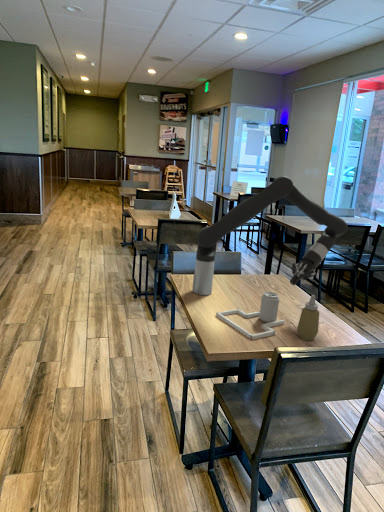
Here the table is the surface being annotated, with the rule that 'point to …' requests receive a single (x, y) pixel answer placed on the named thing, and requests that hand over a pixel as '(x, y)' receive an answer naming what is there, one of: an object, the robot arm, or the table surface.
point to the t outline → (264, 326)
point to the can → (269, 307)
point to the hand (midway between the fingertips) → (291, 283)
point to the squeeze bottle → (309, 321)
